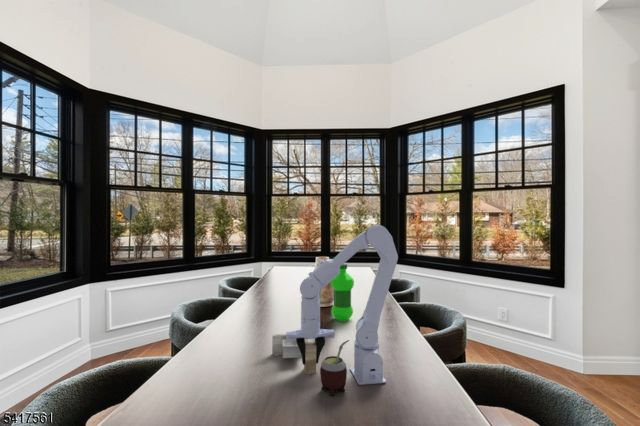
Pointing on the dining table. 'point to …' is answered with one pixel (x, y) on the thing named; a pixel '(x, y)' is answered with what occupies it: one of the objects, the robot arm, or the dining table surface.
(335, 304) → the plastic bottle
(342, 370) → the mate gourd
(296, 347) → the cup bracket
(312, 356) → the rail end
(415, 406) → the dining table surface
